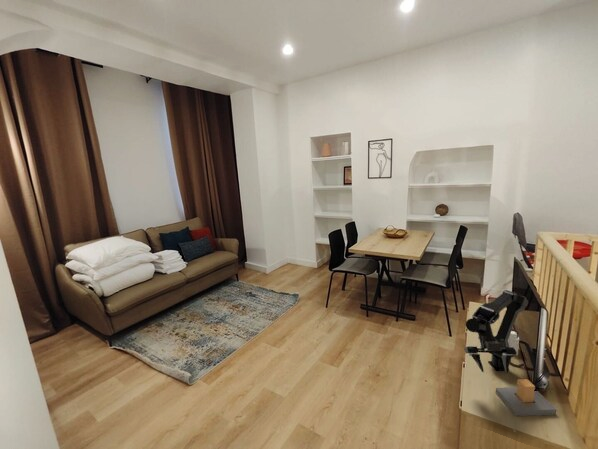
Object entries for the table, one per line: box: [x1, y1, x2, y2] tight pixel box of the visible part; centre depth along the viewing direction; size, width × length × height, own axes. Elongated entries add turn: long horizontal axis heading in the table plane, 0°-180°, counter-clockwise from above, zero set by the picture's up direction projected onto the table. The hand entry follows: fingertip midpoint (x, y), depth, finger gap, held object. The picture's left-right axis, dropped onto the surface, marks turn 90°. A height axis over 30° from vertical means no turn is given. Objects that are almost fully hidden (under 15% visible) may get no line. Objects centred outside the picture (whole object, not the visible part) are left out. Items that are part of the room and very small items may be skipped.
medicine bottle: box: [508, 328, 520, 356], centre depth 149 cm, size 7×7×12 cm
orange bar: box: [516, 378, 536, 403], centre depth 117 cm, size 4×4×10 cm
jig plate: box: [495, 386, 558, 417], centre depth 117 cm, size 12×16×2 cm
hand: (494, 372), depth 119 cm, fingers open, 9 cm apart
